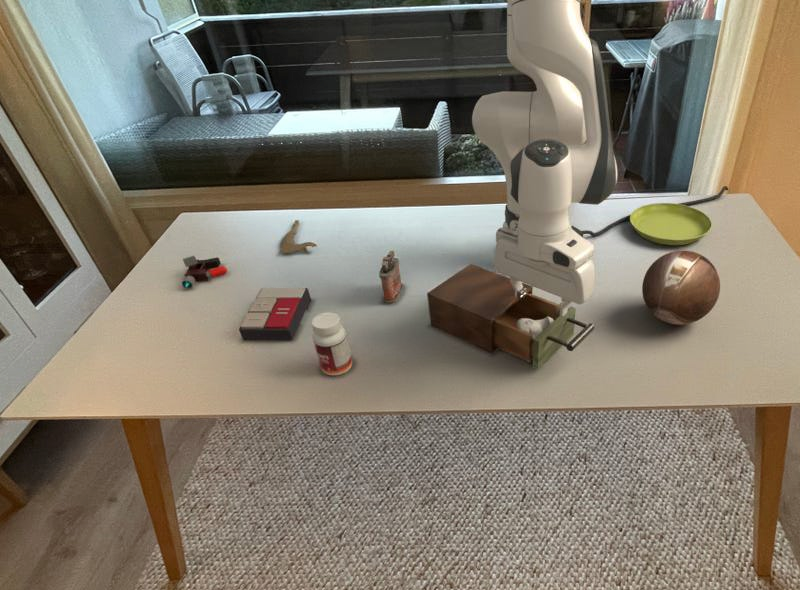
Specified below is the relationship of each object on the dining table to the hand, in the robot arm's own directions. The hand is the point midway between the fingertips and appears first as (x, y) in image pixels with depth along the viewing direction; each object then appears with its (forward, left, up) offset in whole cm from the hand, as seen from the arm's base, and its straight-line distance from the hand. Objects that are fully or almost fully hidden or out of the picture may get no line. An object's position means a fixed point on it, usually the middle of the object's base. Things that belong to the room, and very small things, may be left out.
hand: (540, 305), depth 108 cm
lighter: (+3, -38, -11) cm, 40 cm away
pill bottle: (+28, -29, -11) cm, 42 cm away
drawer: (0, -1, -10) cm, 10 cm away
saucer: (-61, +1, -11) cm, 62 cm away
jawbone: (-3, -78, -11) cm, 79 cm away
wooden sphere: (-25, +18, -11) cm, 32 cm away
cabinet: (0, -15, -10) cm, 18 cm away
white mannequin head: (-1, -1, -9) cm, 9 cm away
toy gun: (+24, -82, -11) cm, 86 cm away
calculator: (+25, -52, -11) cm, 59 cm away
